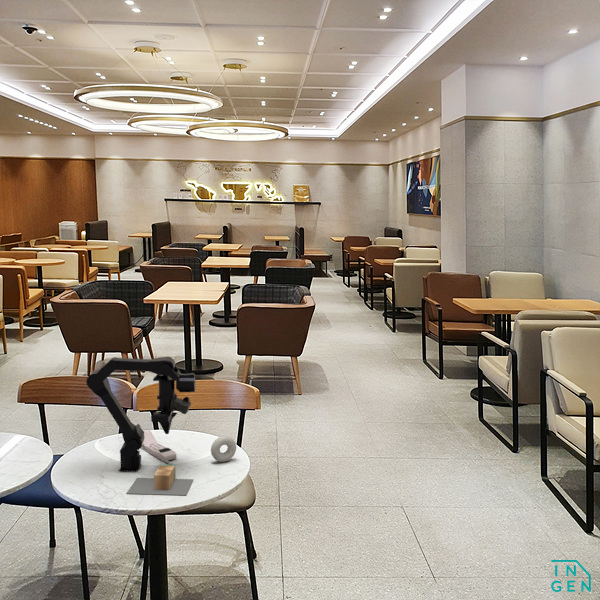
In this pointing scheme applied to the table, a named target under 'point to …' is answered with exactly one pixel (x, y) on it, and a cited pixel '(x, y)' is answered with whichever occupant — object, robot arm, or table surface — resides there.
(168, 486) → the oak block
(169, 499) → the table surface
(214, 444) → the donut
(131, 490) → the charcoal mat
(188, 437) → the table surface
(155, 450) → the mobile phone
